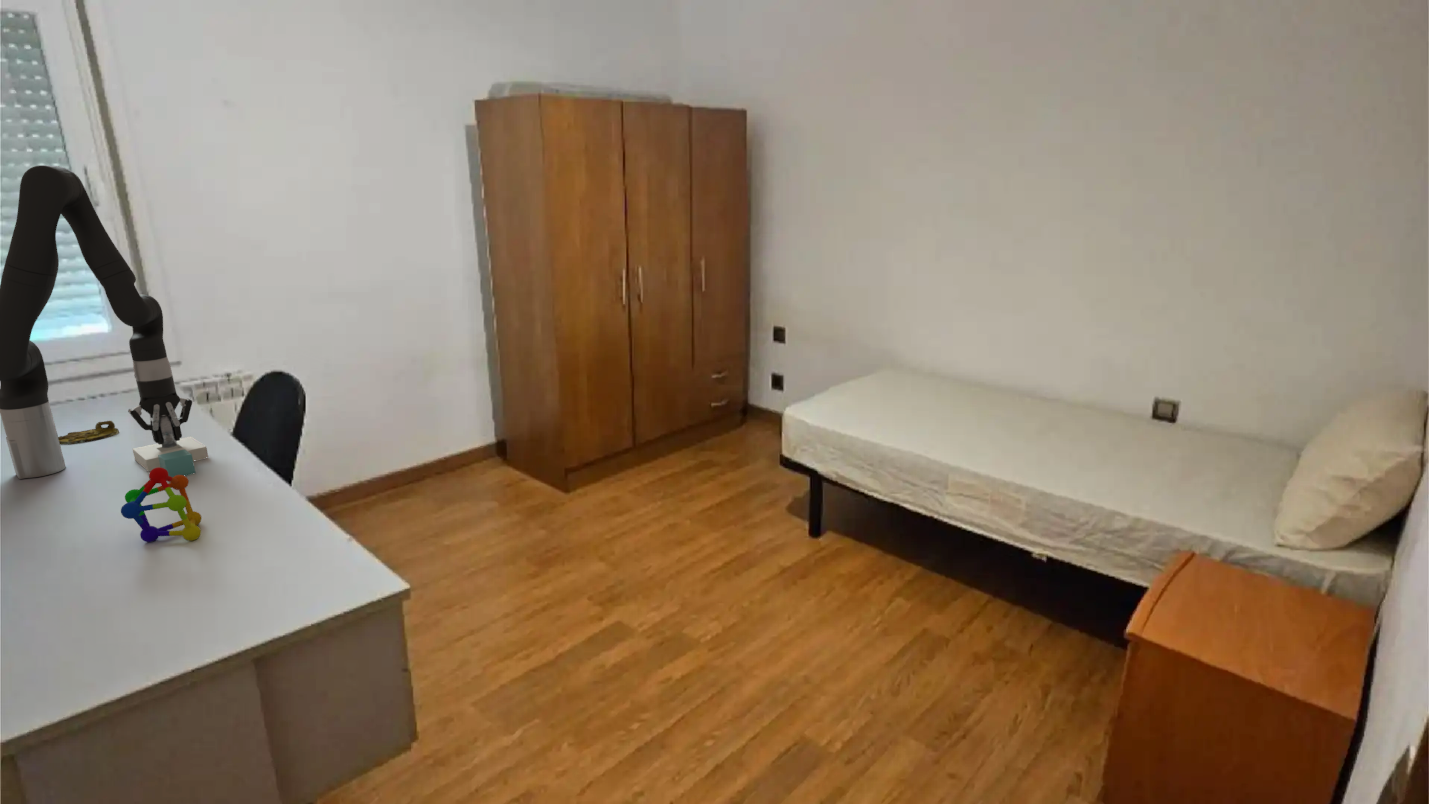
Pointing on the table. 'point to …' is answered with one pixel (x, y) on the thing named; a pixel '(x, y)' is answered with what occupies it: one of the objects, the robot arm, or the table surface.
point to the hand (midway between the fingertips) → (168, 441)
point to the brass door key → (90, 434)
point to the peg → (167, 431)
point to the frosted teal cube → (177, 463)
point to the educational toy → (174, 503)
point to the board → (150, 453)
